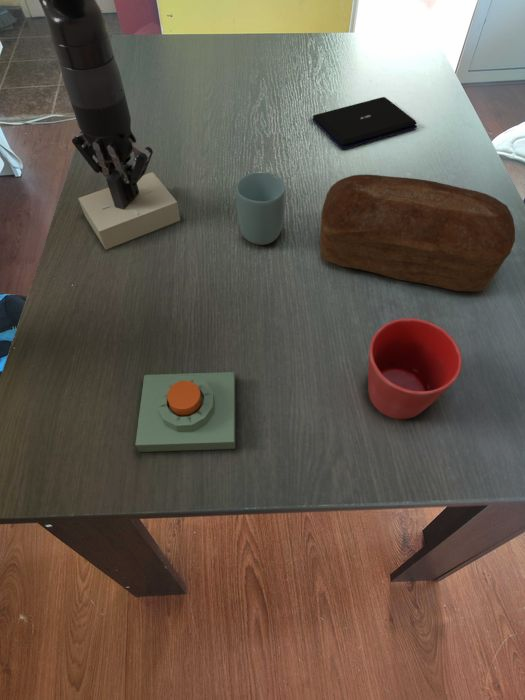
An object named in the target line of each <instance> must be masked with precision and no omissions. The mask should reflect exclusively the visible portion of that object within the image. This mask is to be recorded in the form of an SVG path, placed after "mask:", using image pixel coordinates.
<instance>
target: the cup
mask: <svg viewBox="0 0 525 700" xmlns="http://www.w3.org/2000/svg"><path fill="white" fill-rule="evenodd" d="M235 186H236V187H235V203H236V205H235V206H236V217H237V222H238V228H239V230H240V233H241V235H242V236H243V238H244V239H245V240H246V241H248V242H249V243H251V244H254V245H259V246H265V245H269V244H272V243H273V242H275V241H276V240H277V239H278V237H279V236H280V234H281V233H282V230H283V226H284V222H285V213H286V202H287V201H286V200H287V199H286V198H287V187H286V186H287V185H286V182H285V180H284V179H283V178H282V177H280V176H279V175H277V174H276V173H272V172H268V171H253V172H249V173H246V174H245V175H243V176H242V177H241V178H240V179H239V180H238V181H237V183H236V185H235Z"/></svg>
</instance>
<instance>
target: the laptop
mask: <svg viewBox="0 0 525 700" xmlns="http://www.w3.org/2000/svg"><path fill="white" fill-rule="evenodd" d="M312 121H313V123H314V124H315V125H316V126H317V127H318V128H319V129H320V130H321V131H322V132H323V133H324V134H325V135H326V136H327V137H328V138H329V139H330V140H331V141H332V142H333V144H335V145H336V146H337V147H338V148H339V149H340V150H347V149H350V148H351V147H352V148H353V147H356V146H359V145H363V144H366V143H371V142H374V141H377V140H381V139H384V138H388V137H390V136H394V135H398V134H401V133H404V132H409V131H411V130H415V129H417V127H418V126H417V121H416V120H415V119H414V118H413V117H411V116H410V115H409V114H407V113H406V112H405V111H403V109H401V108H400V107H398V105H396V104H394V102H392V101H391V100H390V99H388V98H387V97H386V96H381V97H378V98H375V99H374V98H373V99H371V100H366V101H362V102H358V103H354V104H351V105H347V106H344V107H339V108H336V109H332V110H327V111H324V112H320V113H317V114H313V115H312Z"/></svg>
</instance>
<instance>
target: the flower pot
mask: <svg viewBox="0 0 525 700" xmlns="http://www.w3.org/2000/svg"><path fill="white" fill-rule="evenodd" d="M367 362H368V363H367V364H368V366H367V368H368V371H367V373H368V375H367V378H368V379H367V382H368V383H367V384H368V385H367V390H368V396H369V400H370V402H371V403H372V405H373V407H374V408H375V409H377V410H378V411H379V412H380V413H381V414H383V415H384V416H387V417H389V418H391V419H396V420H407V419H411V418H414V417H416V416H418V415H419V414H421V413H422V412H423V411H425V410H426V409H427V408H428V407H430V406H431V405H432V404H433V403H434V402H435V401H437V399H438V398H440V397H441V396H442V395H443V394H444V393H445V392H446V391H447V390H448V389H449V388H450V387H451V386H453V384H454V383H455V382H456V381H457V379H458V378H459V376H460V374H461V371H462V366H463V356H462V353H461V349H460V347H459V345H458V343H457V341H456V340H455V338H453V336H451V335H450V333H449V332H447V331H446V330H444V329H443V328H442V327H441V326H439V325H437V324H435V323H432V322H430V321H429V320H428V321H427V320H424V319H420V318H411V317H410V318H409V317H408V318H407V317H405V318H399V319H395V320H391V321H390V322H387V323H385V324H384V325H382V326H381V327H380V328H379V329H378V330H376V332H375V333H374V335H373V337H372V339H371V340H370V344H369V349H368V361H367Z"/></svg>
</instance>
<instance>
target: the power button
mask: <svg viewBox="0 0 525 700" xmlns="http://www.w3.org/2000/svg"><path fill="white" fill-rule="evenodd" d="M167 399H168V402H169V405H170V408H171V410H172V411H173V412H174V413H176V414H178V415H181V416H187V415H191V414H193V413H195V412H196V411H197V410H198V409H199V408H200V406H201V403H202V398H201V393H200V389H199V387H198V386H197V385H196V384H195V383H193V382H191V381H180V382H177V383H175V384H174V385H173V386H171V388H170V389H169V391H168V394H167Z"/></svg>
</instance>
